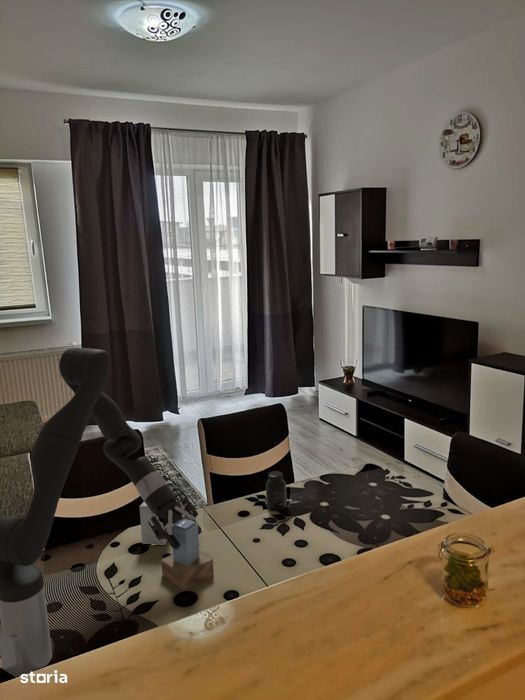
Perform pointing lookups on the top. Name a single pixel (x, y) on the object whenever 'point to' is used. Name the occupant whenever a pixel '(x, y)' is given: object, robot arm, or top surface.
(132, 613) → the top surface
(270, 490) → the supplement bottle
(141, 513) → the supplement box
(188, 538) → the pale blue upright prism
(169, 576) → the walnut box
